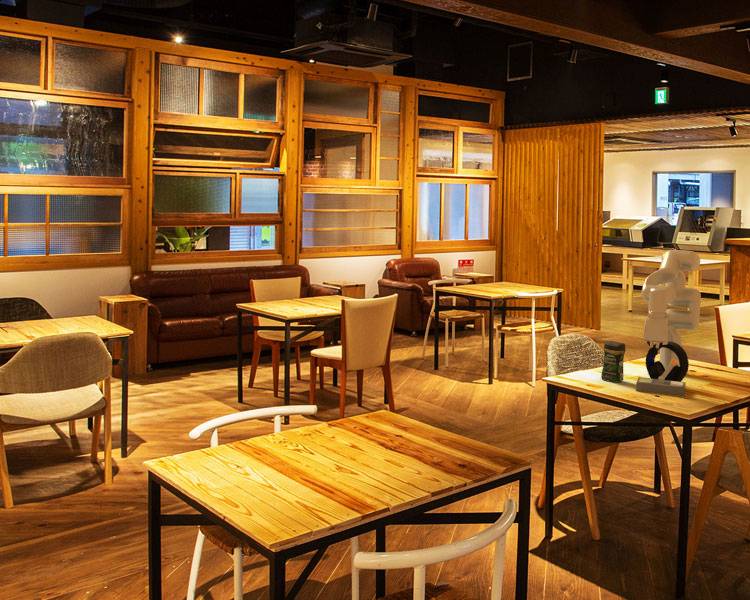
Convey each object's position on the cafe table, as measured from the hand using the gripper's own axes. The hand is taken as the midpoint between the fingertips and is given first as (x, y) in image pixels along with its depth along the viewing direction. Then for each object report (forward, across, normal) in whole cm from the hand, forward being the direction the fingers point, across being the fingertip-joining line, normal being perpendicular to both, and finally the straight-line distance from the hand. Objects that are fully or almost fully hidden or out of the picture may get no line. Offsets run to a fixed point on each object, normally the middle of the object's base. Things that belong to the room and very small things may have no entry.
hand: (653, 356), depth 345 cm
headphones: (+16, -5, -13) cm, 21 cm away
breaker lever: (+10, -4, +1) cm, 11 cm away
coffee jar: (+16, +18, -9) cm, 26 cm away
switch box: (+15, -4, +1) cm, 16 cm away
